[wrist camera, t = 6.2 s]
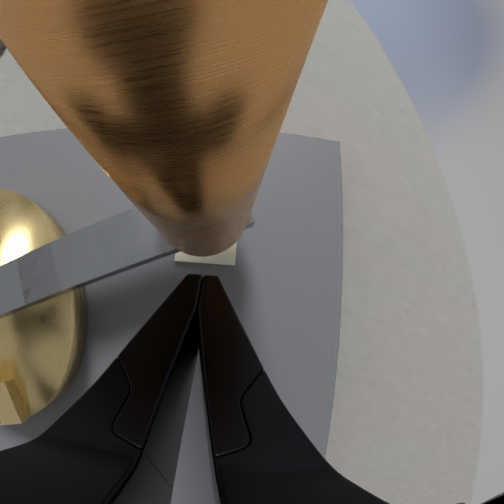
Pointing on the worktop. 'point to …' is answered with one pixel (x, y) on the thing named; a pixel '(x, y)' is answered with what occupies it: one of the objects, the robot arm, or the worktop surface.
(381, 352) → the worktop surface
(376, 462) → the worktop surface
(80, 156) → the grey rectangular board
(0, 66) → the worktop surface
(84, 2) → the brass wheel crank mechanism
